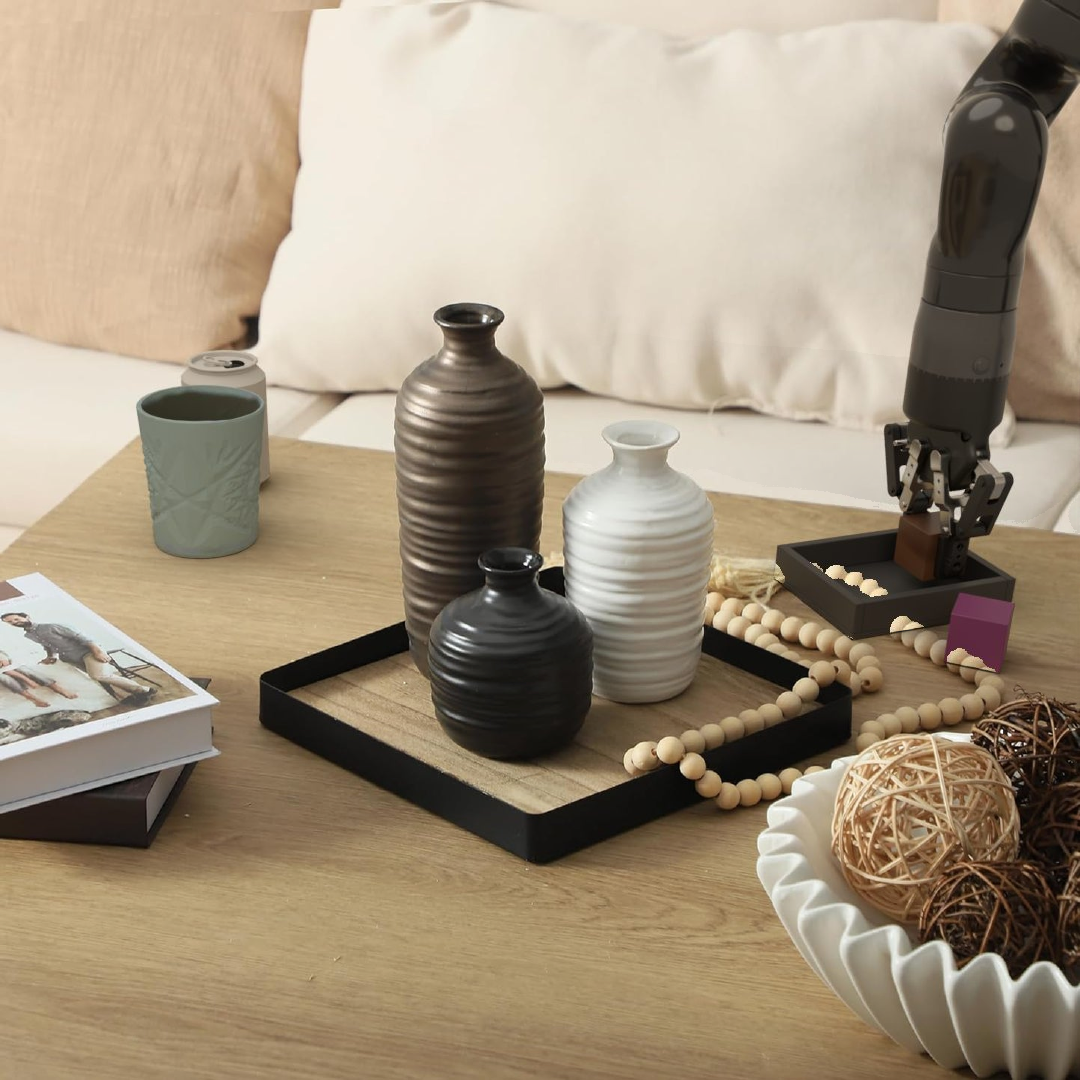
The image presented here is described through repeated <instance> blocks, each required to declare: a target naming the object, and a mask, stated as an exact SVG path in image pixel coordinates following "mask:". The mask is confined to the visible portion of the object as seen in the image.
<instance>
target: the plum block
mask: <svg viewBox="0 0 1080 1080" xmlns="http://www.w3.org/2000/svg"><path fill="white" fill-rule="evenodd" d="M1015 604H1016V603H1015V602H1012V603H1011V602H1006V601H1001V600H996V599H990V598H985V597H980V596H975V595H969V594H964V593H959V595H958V598H957V600H956V603H955V605H954V608H953V610H952V613H951V618H950V623H949V624H948V625H949V626H948V630H947V636H946V637H947V638H946V643H945V649H944V657H943V663H945V664H948V663H947V656H948V655H949V654H950V652H951V651H954V650H956V649H957V648H962V649H965V651H967V653H968V654H970V655H972V656H974V657H979V658H980V659H982V660H983V663H984V664H985V665H986V666H987V667H989V668H992V669H995V671H996V672H998V673H997V674H1001V671H1002V667H1003V664H1004V660H1005V658H1006V654H1007V653H1006V652H1008V651H1007V650H1008V644H1009V638H1010V633H1011V626H1012V621H1013V616H1014V610H1015V606H1016V605H1015Z"/></svg>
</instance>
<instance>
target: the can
mask: <svg viewBox="0 0 1080 1080" xmlns="http://www.w3.org/2000/svg"><path fill="white" fill-rule="evenodd" d="M258 363H259V359H258V357H257V356H255V355H254V354H252V353H250V352H247V351H241V350H233V349H231V350H230V349H219V350H215V349H214V350H207V351H203V352H199V353H195V354H193V355H191V356H189V358H188V359H187V360H186V365H187V366H188V367H187V368H186V369H185V370H184V371H183V372H182V374H180V386H190V385H217V386H227V387H235V388H239V389H244V390H247V391H251V392H253V393H255V394H257V395H259V396H260V397H261V398H262V399H263V401H264V403H265V412H264V425H263V432H262V437H263V439H262V453H261V458H260V467H259V469H260V473H261V477H260V486H261V485H262V484H263V483H264V482H265V481H266V480H267V479H268V478H269V477H270V475H271V463H270V444H269V443H270V442H269V441H270V439H269V421H268V420H269V418H268V397H267V396H268V395H267V375H266V372H265V371H264V370H263V369H262V368H261V367H260V366H259V365H258Z"/></svg>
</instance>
